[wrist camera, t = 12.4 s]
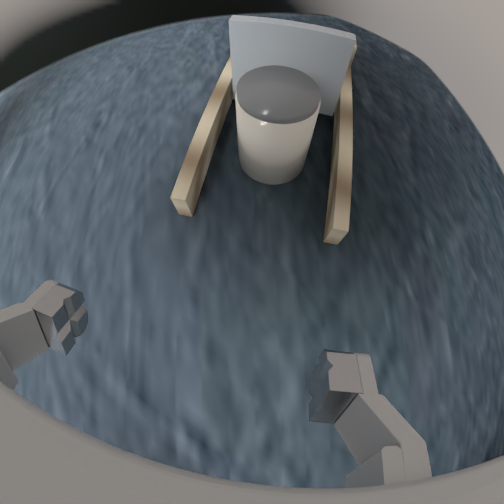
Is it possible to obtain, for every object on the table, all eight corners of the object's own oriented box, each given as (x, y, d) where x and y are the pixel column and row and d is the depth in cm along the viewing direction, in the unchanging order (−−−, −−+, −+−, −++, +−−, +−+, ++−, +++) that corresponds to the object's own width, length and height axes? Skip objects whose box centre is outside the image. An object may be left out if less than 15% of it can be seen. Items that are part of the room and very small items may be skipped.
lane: (337, 245, 19) (362, 214, 14) (179, 214, 20) (159, 177, 15) (344, 77, 24) (355, 40, 20) (239, 59, 25) (237, 20, 20)
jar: (232, 178, 21) (224, 110, 14) (246, 128, 22) (245, 60, 15) (300, 190, 20) (320, 126, 14) (307, 138, 22) (324, 72, 15)
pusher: (332, 116, 22) (356, 40, 14) (233, 99, 22) (228, 20, 14) (332, 108, 22) (355, 34, 14) (236, 91, 22) (232, 15, 15)
